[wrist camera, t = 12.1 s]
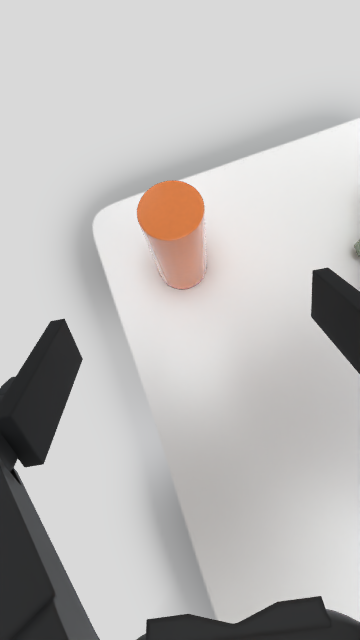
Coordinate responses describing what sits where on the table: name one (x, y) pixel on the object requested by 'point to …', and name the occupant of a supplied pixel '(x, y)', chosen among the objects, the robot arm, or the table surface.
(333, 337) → the robot arm
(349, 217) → the table surface
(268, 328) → the table surface
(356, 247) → the drawer
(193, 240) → the canister
